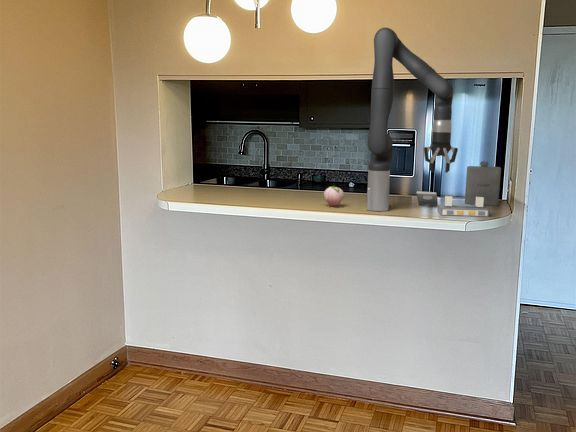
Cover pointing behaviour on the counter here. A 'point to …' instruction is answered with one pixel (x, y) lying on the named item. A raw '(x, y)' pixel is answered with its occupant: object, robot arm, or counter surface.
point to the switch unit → (463, 211)
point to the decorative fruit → (333, 195)
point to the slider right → (479, 201)
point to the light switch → (427, 198)
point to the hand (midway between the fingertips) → (439, 172)
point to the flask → (482, 184)
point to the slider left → (448, 200)
